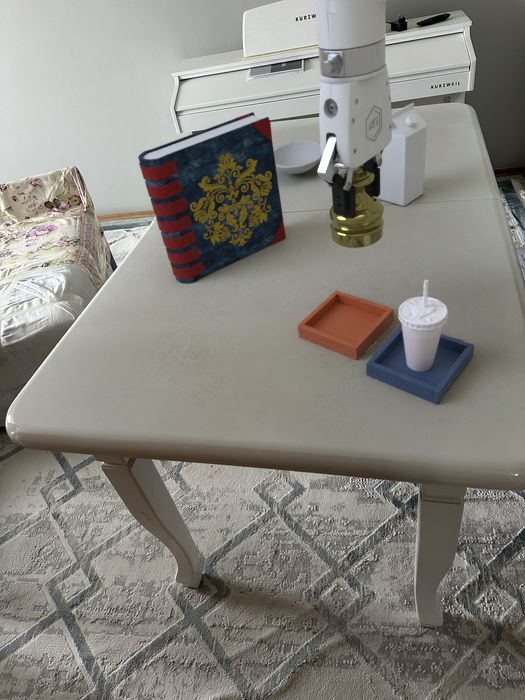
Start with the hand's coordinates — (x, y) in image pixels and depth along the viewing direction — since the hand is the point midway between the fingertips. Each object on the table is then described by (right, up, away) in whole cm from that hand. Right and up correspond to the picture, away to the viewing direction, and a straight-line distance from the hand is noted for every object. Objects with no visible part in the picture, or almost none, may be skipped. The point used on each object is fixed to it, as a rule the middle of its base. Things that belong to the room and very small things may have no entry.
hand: (357, 203), depth 71 cm
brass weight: (+1, -4, +3) cm, 5 cm away
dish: (-4, +26, +64) cm, 69 cm away
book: (-20, -1, +37) cm, 42 cm away
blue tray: (+10, -23, +4) cm, 25 cm away
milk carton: (+18, +14, +45) cm, 50 cm away
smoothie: (+10, -22, +4) cm, 25 cm away
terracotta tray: (+1, -17, +13) cm, 21 cm away
